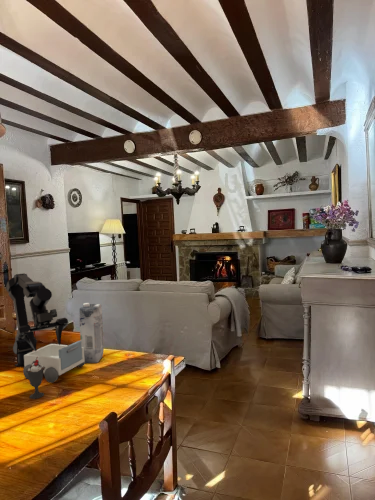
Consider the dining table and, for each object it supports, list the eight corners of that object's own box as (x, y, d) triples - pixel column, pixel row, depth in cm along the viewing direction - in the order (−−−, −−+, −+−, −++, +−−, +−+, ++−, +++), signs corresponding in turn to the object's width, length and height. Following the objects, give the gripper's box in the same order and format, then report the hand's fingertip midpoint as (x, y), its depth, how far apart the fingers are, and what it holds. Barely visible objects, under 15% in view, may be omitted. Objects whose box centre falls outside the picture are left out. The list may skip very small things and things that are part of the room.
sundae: (39, 400, 128) (37, 359, 127) (23, 399, 129) (20, 358, 129) (50, 392, 134) (48, 353, 134) (34, 391, 136) (32, 352, 135)
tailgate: (59, 369, 145) (58, 349, 144) (79, 358, 157) (79, 340, 156) (63, 370, 144) (62, 350, 144) (84, 359, 156) (83, 341, 156)
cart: (22, 378, 148) (21, 356, 148) (54, 363, 166) (53, 342, 165) (57, 384, 142) (56, 360, 142) (86, 367, 159) (85, 346, 159)
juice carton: (105, 356, 173) (102, 300, 172) (99, 363, 163) (96, 304, 162) (86, 356, 174) (84, 301, 172) (79, 364, 163) (77, 305, 162)
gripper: (18, 307, 135) (26, 346, 129) (67, 299, 147) (76, 335, 141) (13, 318, 143) (21, 356, 137) (60, 310, 154) (69, 344, 149)
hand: (48, 347), depth 141 cm, fingers open, 9 cm apart
